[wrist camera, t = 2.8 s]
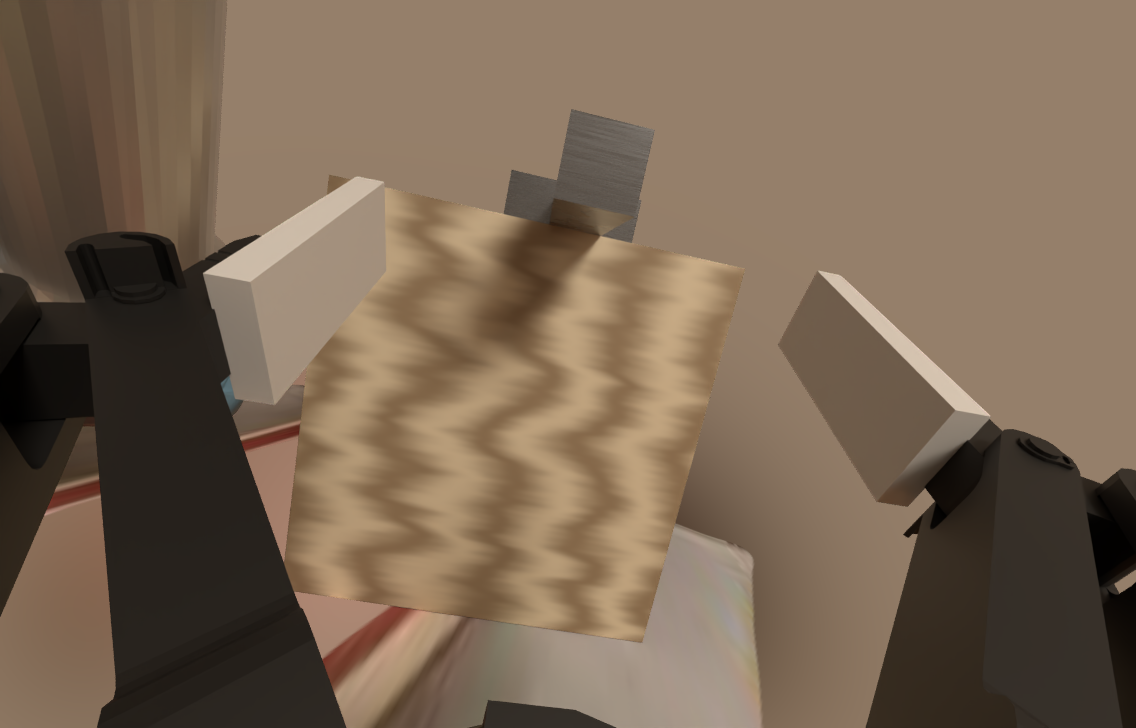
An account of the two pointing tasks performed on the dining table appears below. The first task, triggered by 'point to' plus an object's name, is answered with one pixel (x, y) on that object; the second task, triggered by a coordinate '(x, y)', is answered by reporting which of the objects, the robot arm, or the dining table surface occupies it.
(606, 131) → the t handle
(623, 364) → the zigzag patterned box
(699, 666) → the dining table surface
